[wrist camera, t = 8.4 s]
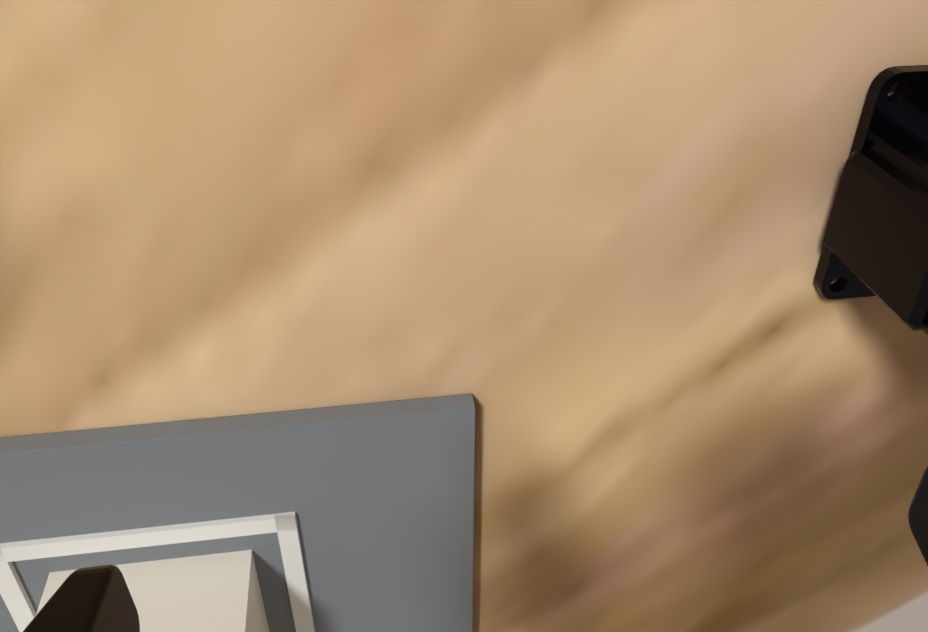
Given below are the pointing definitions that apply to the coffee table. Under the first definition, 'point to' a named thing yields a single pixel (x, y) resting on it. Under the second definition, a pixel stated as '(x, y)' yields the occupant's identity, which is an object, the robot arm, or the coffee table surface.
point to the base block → (190, 593)
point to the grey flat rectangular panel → (261, 509)
